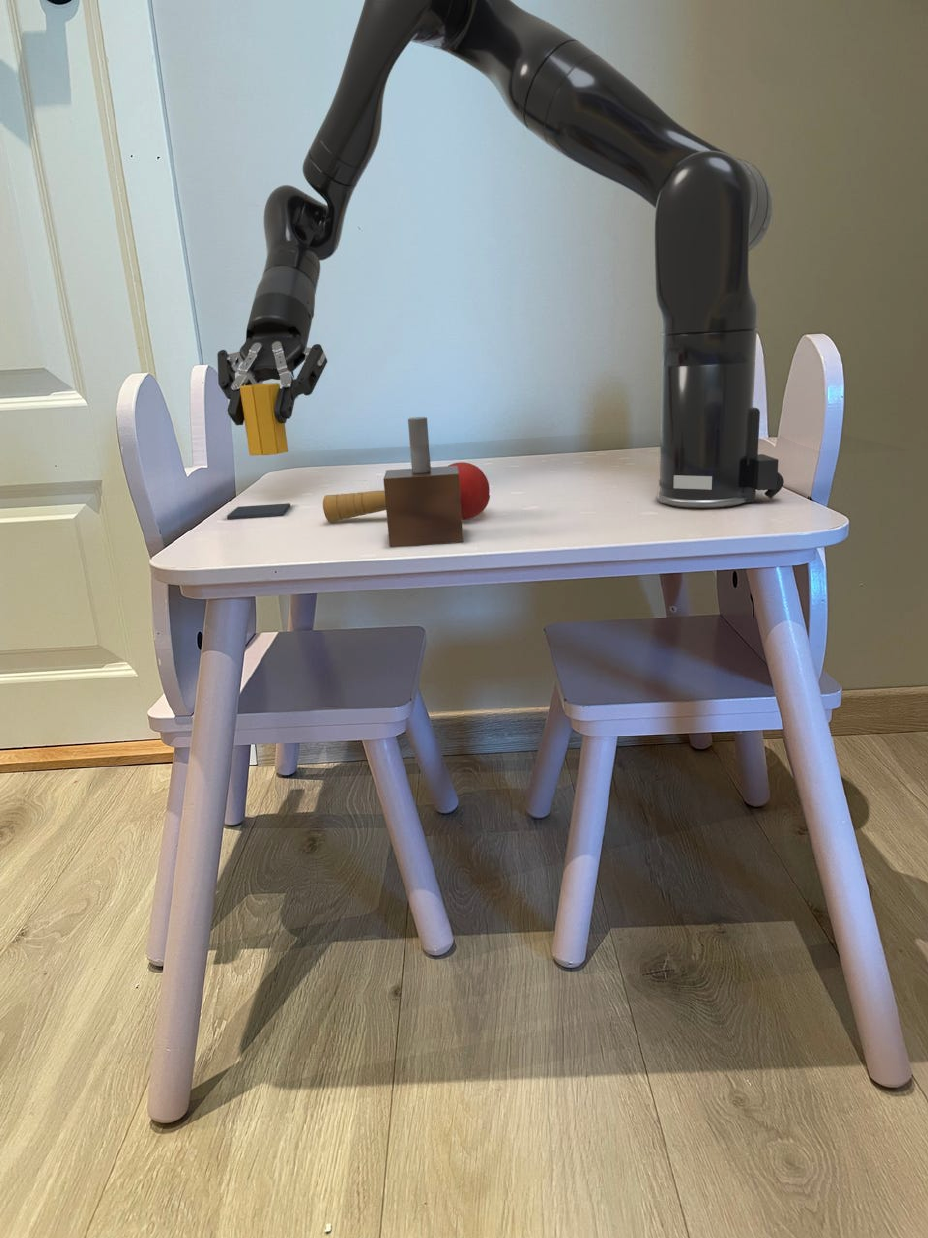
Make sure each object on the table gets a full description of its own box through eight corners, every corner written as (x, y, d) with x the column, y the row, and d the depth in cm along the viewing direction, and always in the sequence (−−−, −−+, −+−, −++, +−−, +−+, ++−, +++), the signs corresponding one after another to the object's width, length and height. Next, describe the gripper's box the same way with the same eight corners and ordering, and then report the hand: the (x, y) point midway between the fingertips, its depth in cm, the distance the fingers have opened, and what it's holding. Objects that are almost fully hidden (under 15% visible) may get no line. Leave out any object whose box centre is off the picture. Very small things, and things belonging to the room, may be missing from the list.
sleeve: (295, 449, 102) (287, 382, 99) (270, 455, 98) (261, 385, 96) (266, 449, 104) (257, 383, 101) (241, 455, 100) (231, 386, 98)
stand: (461, 530, 83) (454, 413, 79) (463, 542, 78) (455, 417, 74) (391, 535, 83) (381, 417, 79) (389, 547, 78) (378, 422, 74)
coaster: (290, 506, 101) (289, 503, 101) (282, 515, 96) (282, 512, 96) (238, 509, 101) (237, 506, 101) (227, 519, 96) (226, 515, 96)
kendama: (319, 543, 87) (486, 516, 83) (308, 483, 86) (476, 452, 82) (344, 539, 94) (499, 513, 90) (334, 483, 93) (489, 455, 89)
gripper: (217, 294, 103) (187, 401, 96) (327, 285, 101) (304, 395, 93) (241, 338, 110) (215, 442, 103) (345, 331, 107) (325, 437, 100)
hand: (258, 419), depth 98 cm, fingers closed on sleeve, 5 cm apart
